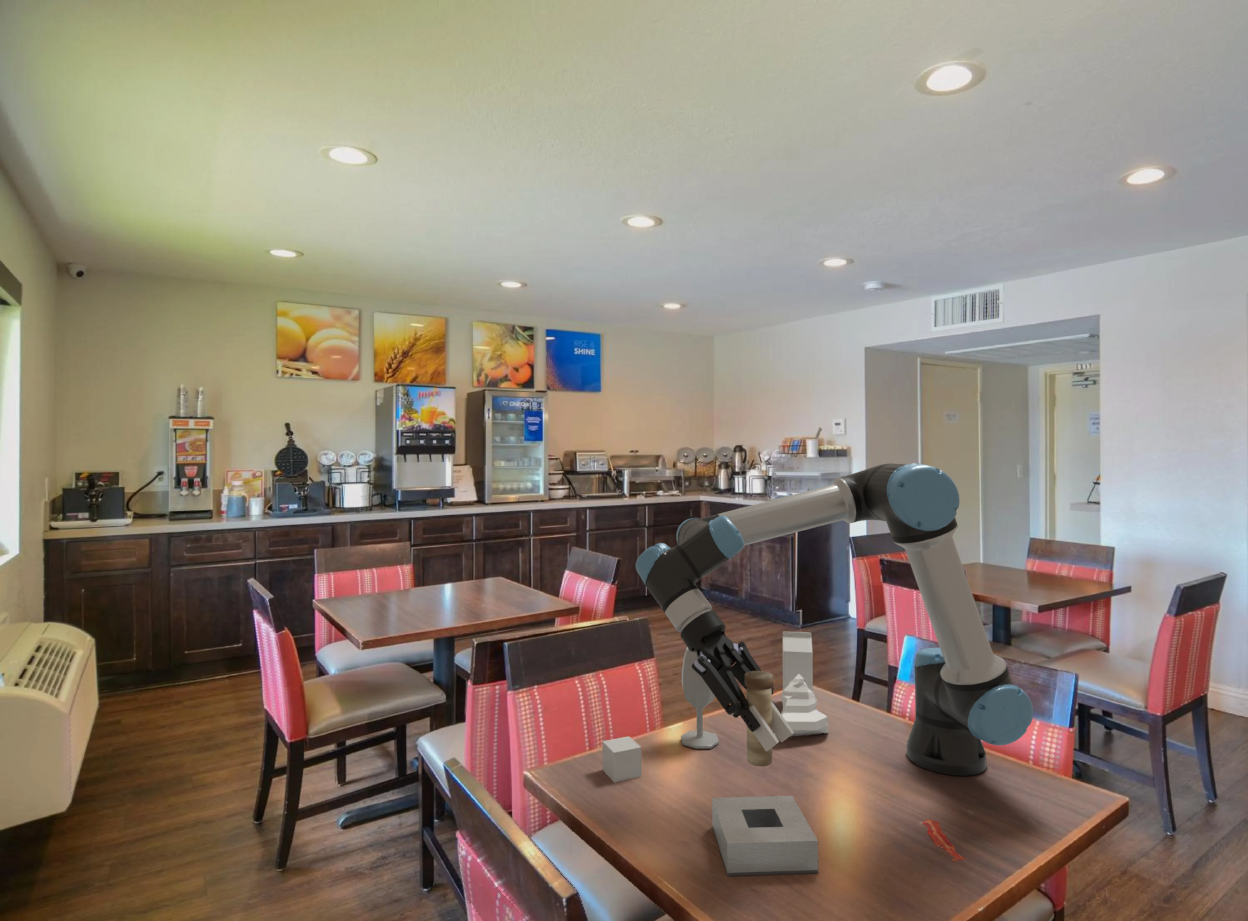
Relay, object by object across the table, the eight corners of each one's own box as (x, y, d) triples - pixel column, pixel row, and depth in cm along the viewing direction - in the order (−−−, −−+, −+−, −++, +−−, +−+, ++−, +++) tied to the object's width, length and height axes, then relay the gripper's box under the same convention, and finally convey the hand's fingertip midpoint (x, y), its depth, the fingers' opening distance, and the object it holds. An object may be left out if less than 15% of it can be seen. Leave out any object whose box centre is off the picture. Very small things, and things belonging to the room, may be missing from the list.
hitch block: (792, 824, 119) (792, 795, 119) (818, 873, 105) (817, 840, 105) (712, 826, 119) (712, 797, 119) (727, 876, 105) (727, 843, 105)
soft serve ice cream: (756, 734, 162) (755, 671, 165) (815, 734, 164) (813, 672, 168) (778, 742, 150) (776, 674, 153) (841, 742, 152) (838, 675, 156)
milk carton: (813, 712, 171) (812, 636, 171) (783, 710, 172) (783, 635, 172) (811, 702, 178) (810, 629, 178) (782, 700, 179) (782, 628, 179)
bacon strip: (948, 863, 108) (948, 859, 108) (908, 813, 123) (908, 809, 123) (972, 863, 108) (972, 859, 108) (929, 813, 123) (929, 809, 123)
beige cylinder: (770, 754, 114) (769, 670, 114) (777, 766, 110) (776, 679, 110) (742, 755, 114) (742, 671, 114) (748, 767, 110) (748, 680, 110)
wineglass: (676, 747, 151) (675, 652, 151) (685, 732, 160) (684, 641, 159) (715, 752, 148) (714, 655, 148) (722, 736, 157) (721, 644, 157)
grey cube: (602, 770, 141) (602, 741, 141) (629, 764, 143) (628, 736, 143) (614, 782, 135) (613, 752, 135) (641, 776, 138) (641, 747, 138)
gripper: (712, 625, 129) (792, 737, 117) (653, 644, 116) (736, 771, 105) (736, 601, 125) (820, 714, 114) (677, 617, 112) (766, 747, 101)
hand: (780, 741), depth 109 cm, fingers closed on beige cylinder, 4 cm apart
